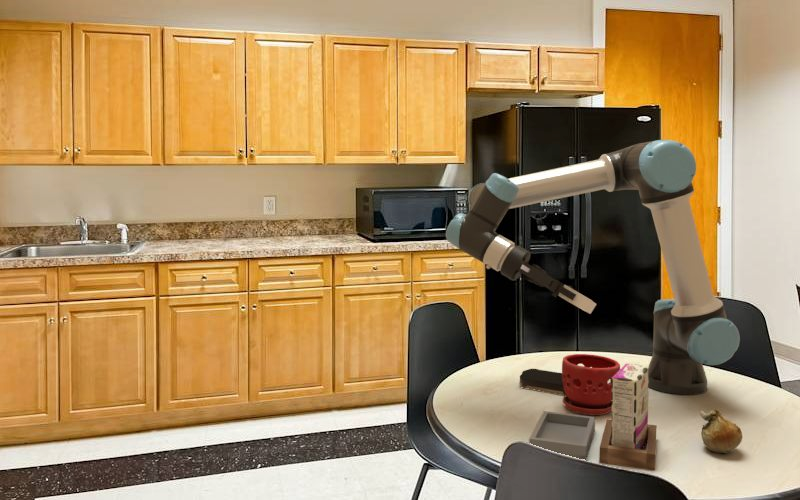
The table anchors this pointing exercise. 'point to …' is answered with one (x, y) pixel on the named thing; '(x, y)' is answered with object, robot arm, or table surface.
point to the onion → (720, 433)
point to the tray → (564, 433)
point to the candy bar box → (630, 406)
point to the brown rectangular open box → (628, 450)
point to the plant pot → (588, 383)
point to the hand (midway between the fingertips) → (591, 307)
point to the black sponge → (542, 381)
